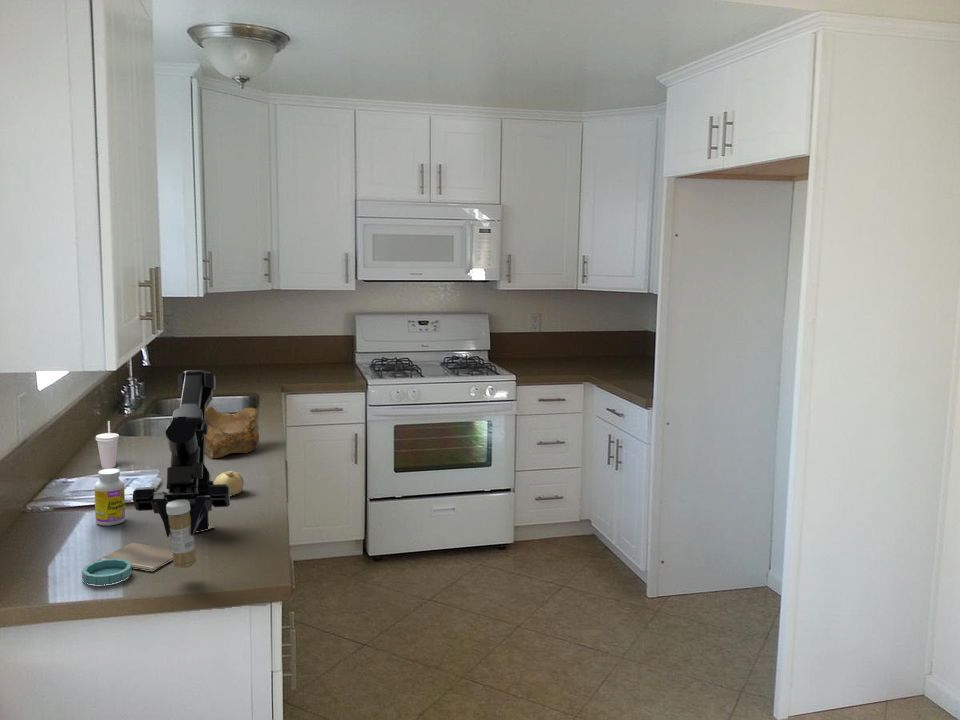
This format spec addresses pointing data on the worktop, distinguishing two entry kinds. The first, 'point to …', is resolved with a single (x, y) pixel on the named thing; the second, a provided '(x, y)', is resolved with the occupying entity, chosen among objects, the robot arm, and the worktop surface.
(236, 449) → the rough brown rock
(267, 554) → the worktop surface
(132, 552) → the board
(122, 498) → the supplement bottle
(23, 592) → the worktop surface
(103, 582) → the bowl
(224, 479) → the onion
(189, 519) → the sprinkles bottle
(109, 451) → the smoothie
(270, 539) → the worktop surface
